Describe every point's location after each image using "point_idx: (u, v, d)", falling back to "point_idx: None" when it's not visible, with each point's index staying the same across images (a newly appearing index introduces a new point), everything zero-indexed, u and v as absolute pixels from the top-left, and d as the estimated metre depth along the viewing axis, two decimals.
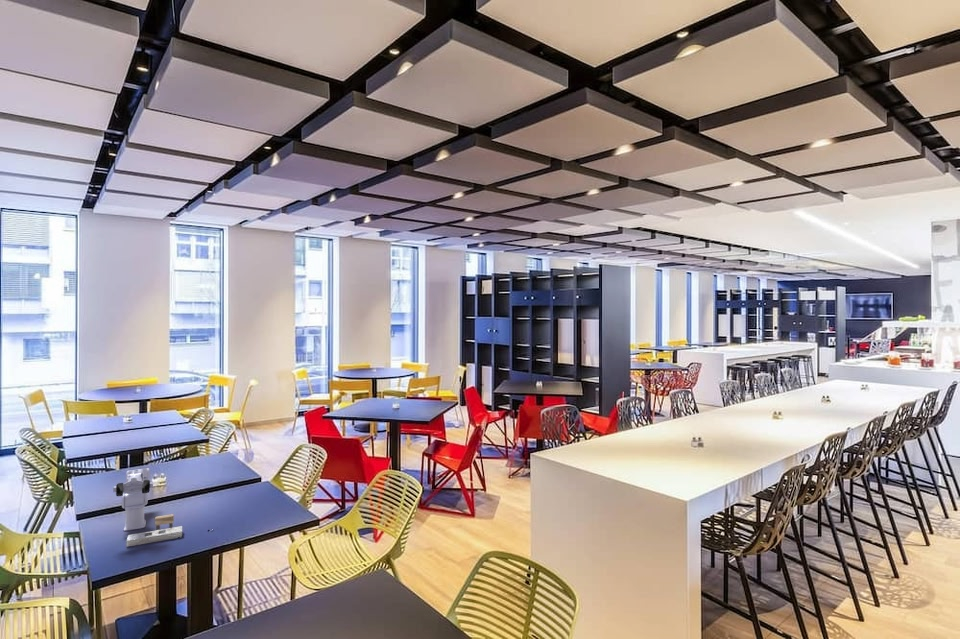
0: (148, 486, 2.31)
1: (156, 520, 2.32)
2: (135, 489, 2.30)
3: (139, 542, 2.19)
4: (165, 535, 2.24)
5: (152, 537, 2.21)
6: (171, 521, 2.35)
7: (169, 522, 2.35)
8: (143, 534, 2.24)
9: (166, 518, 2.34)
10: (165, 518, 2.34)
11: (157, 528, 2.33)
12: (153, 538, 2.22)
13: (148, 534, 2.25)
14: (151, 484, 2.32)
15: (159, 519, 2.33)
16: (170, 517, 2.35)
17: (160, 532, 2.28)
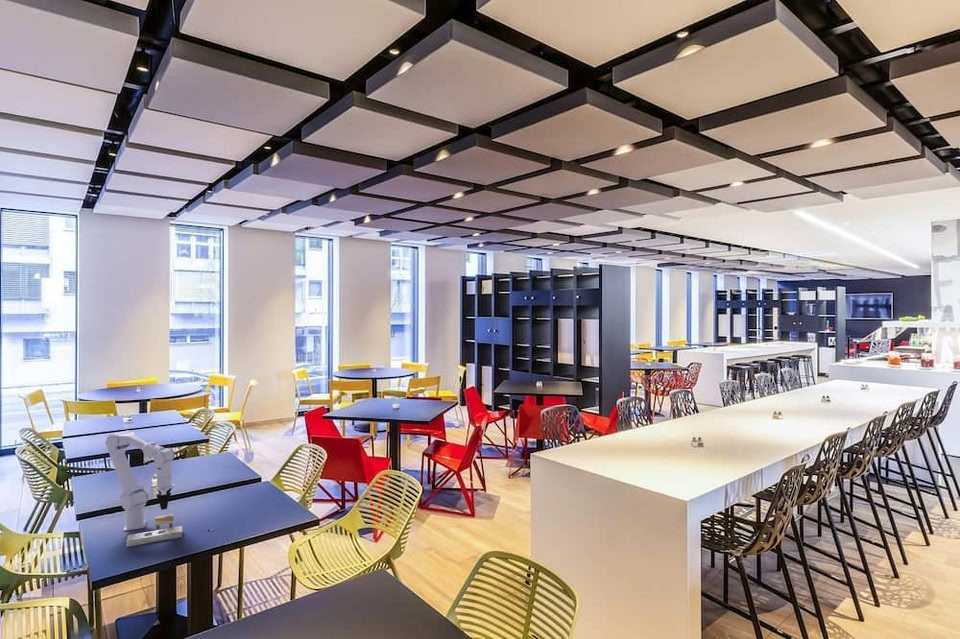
0: None
1: (156, 520, 2.32)
2: None
3: (139, 542, 2.19)
4: (165, 535, 2.24)
5: (152, 537, 2.21)
6: (171, 521, 2.35)
7: (169, 522, 2.35)
8: (143, 534, 2.24)
9: (166, 518, 2.34)
10: (165, 518, 2.34)
11: (157, 528, 2.33)
12: (153, 538, 2.22)
13: (148, 534, 2.25)
14: None
15: (159, 519, 2.33)
16: (170, 517, 2.35)
17: (160, 532, 2.28)
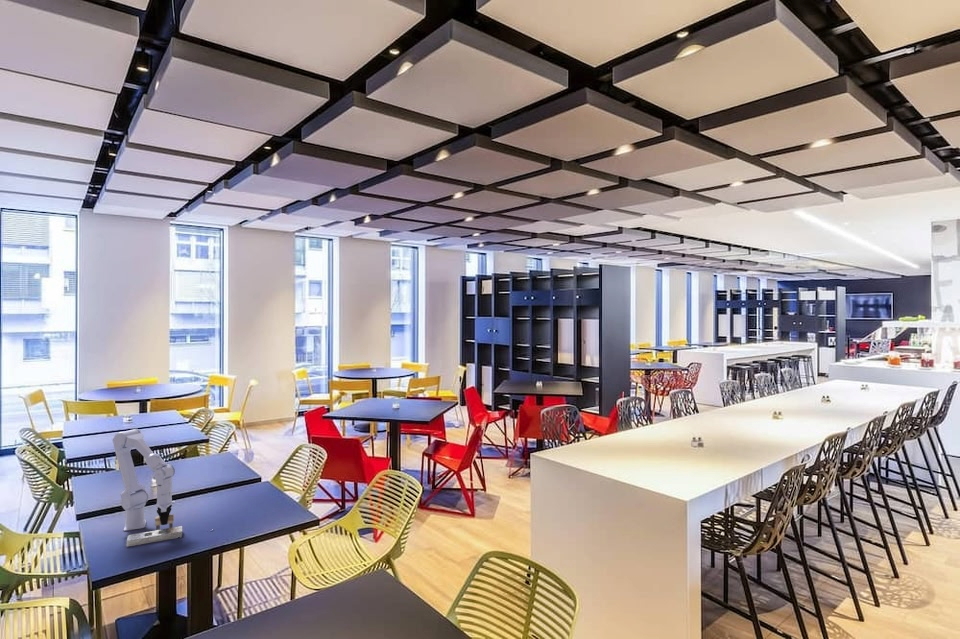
0: None
1: (156, 520, 2.32)
2: None
3: (139, 542, 2.19)
4: (165, 535, 2.24)
5: (152, 537, 2.21)
6: (171, 521, 2.35)
7: (169, 522, 2.35)
8: (143, 534, 2.24)
9: None
10: None
11: (157, 528, 2.33)
12: (153, 538, 2.22)
13: (148, 534, 2.25)
14: None
15: (159, 519, 2.33)
16: (170, 517, 2.35)
17: (160, 532, 2.28)
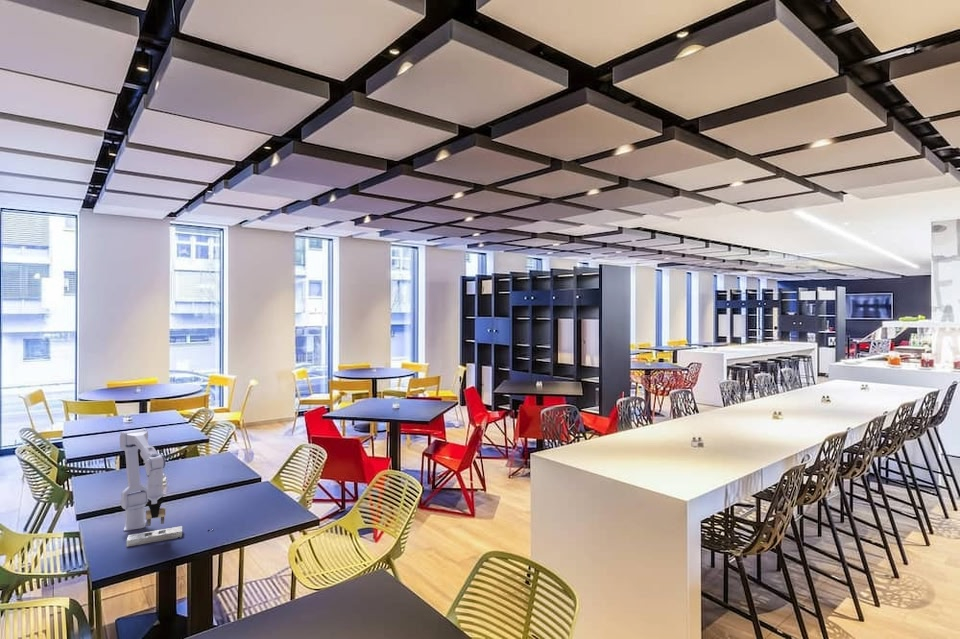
0: None
1: (147, 513, 2.22)
2: None
3: (139, 542, 2.19)
4: (165, 535, 2.24)
5: (152, 537, 2.21)
6: (163, 515, 2.25)
7: (161, 516, 2.25)
8: (143, 534, 2.24)
9: None
10: None
11: (148, 522, 2.23)
12: (153, 538, 2.22)
13: (148, 534, 2.25)
14: None
15: (150, 512, 2.23)
16: (162, 510, 2.25)
17: (160, 532, 2.28)
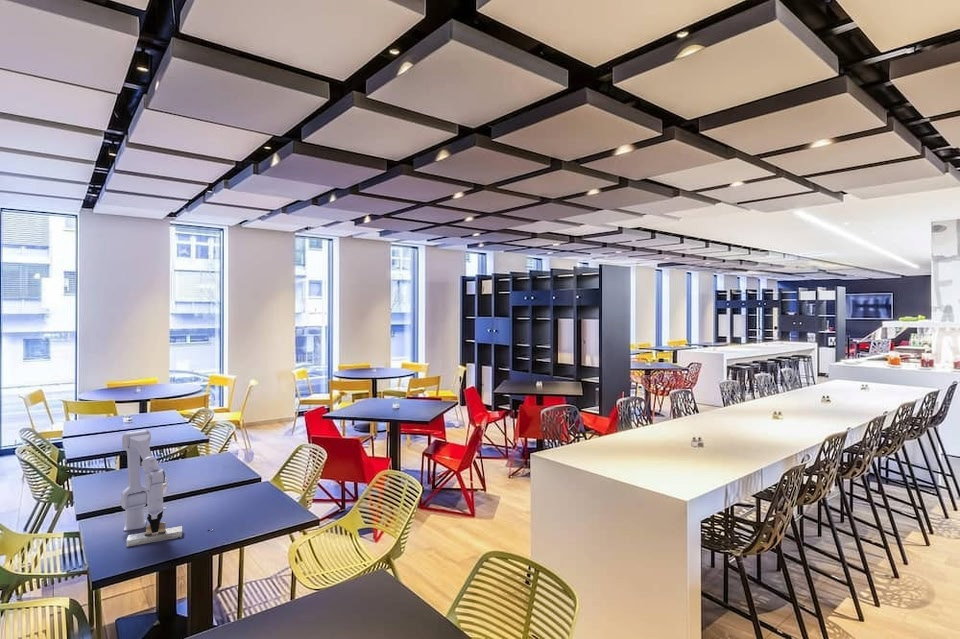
0: None
1: (147, 528, 2.22)
2: None
3: (139, 542, 2.19)
4: (165, 535, 2.24)
5: (152, 537, 2.21)
6: (163, 529, 2.25)
7: (161, 530, 2.25)
8: (143, 534, 2.24)
9: None
10: None
11: None
12: (153, 538, 2.22)
13: None
14: None
15: (150, 527, 2.23)
16: (162, 525, 2.25)
17: (160, 532, 2.28)
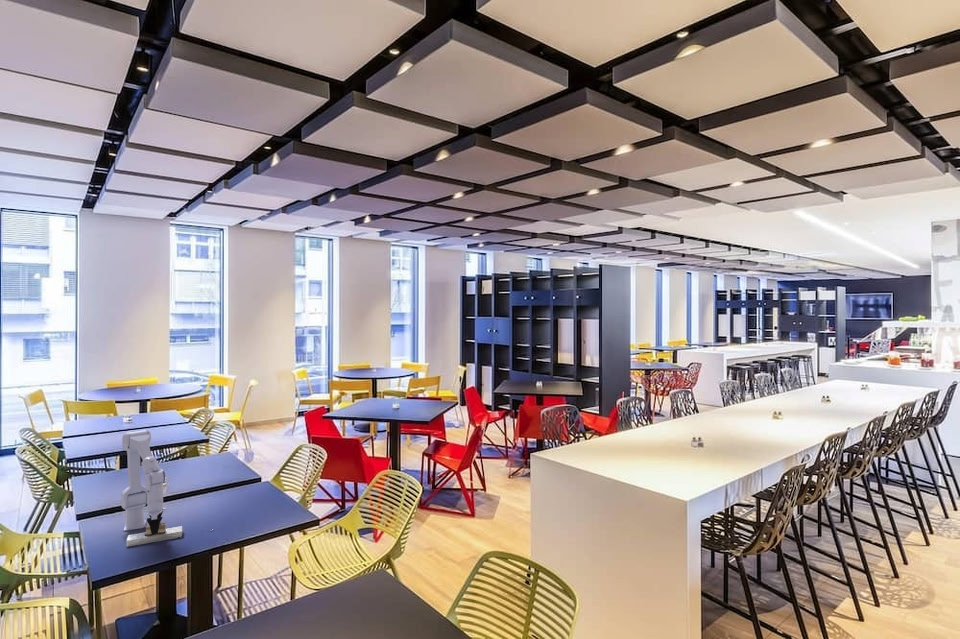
0: None
1: (147, 529, 2.22)
2: None
3: (139, 542, 2.19)
4: (165, 535, 2.24)
5: (152, 537, 2.21)
6: (163, 530, 2.25)
7: (161, 531, 2.25)
8: (143, 534, 2.24)
9: None
10: None
11: None
12: (153, 538, 2.22)
13: None
14: None
15: None
16: (162, 526, 2.25)
17: (160, 532, 2.28)
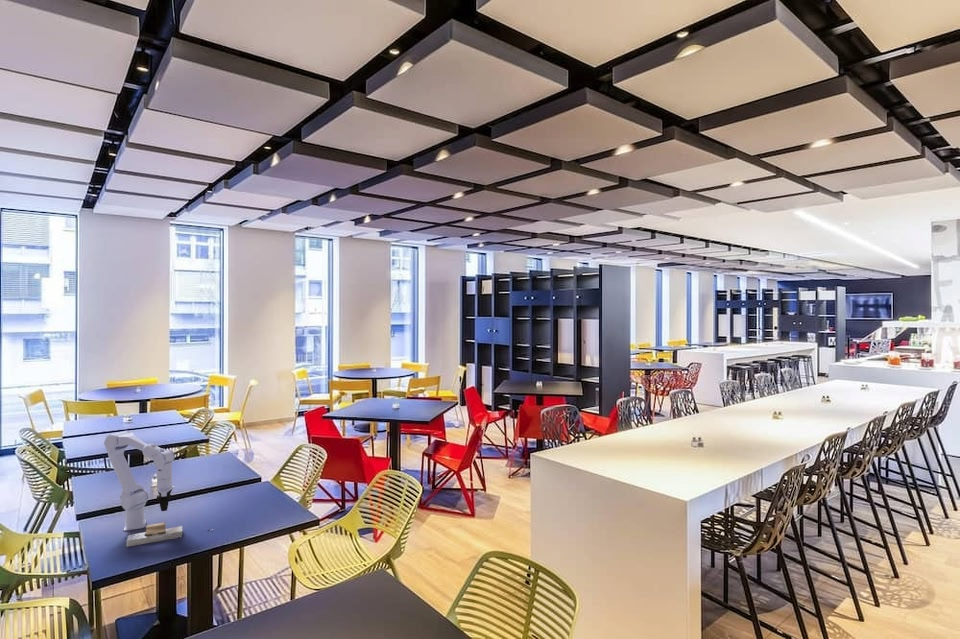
0: None
1: (147, 529, 2.22)
2: None
3: (139, 542, 2.19)
4: (165, 535, 2.24)
5: (152, 537, 2.21)
6: (163, 530, 2.25)
7: (161, 531, 2.25)
8: (143, 534, 2.24)
9: (157, 527, 2.24)
10: (156, 527, 2.24)
11: None
12: (153, 538, 2.22)
13: None
14: None
15: (150, 528, 2.23)
16: (162, 526, 2.25)
17: (160, 532, 2.28)
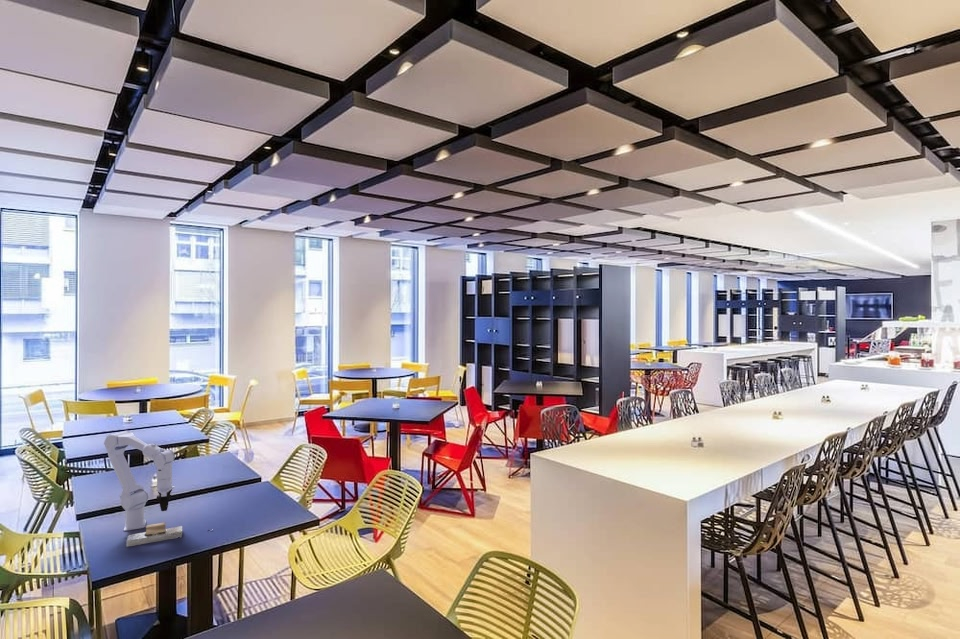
0: None
1: (147, 529, 2.22)
2: None
3: (139, 542, 2.19)
4: (165, 535, 2.24)
5: (152, 537, 2.21)
6: (163, 530, 2.25)
7: (161, 531, 2.25)
8: (143, 534, 2.24)
9: (157, 527, 2.24)
10: (156, 527, 2.24)
11: None
12: (153, 538, 2.22)
13: None
14: None
15: (150, 528, 2.23)
16: (162, 526, 2.25)
17: (160, 532, 2.28)
